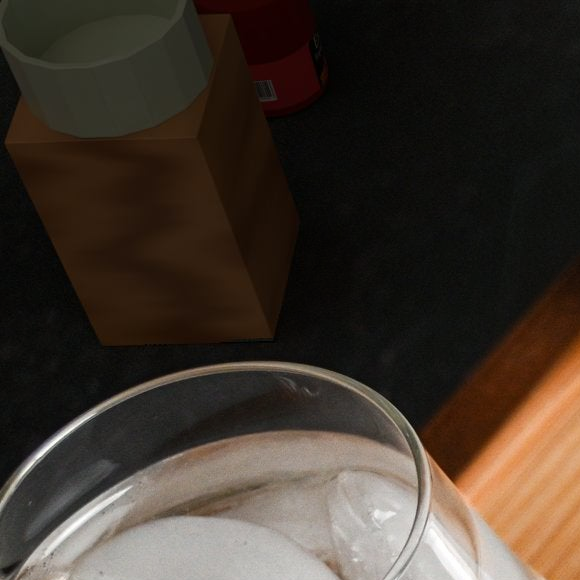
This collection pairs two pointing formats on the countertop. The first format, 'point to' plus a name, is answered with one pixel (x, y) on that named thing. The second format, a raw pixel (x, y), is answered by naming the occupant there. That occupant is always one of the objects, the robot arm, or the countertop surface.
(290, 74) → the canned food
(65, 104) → the bowl
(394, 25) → the countertop surface
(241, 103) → the riser
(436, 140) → the countertop surface
